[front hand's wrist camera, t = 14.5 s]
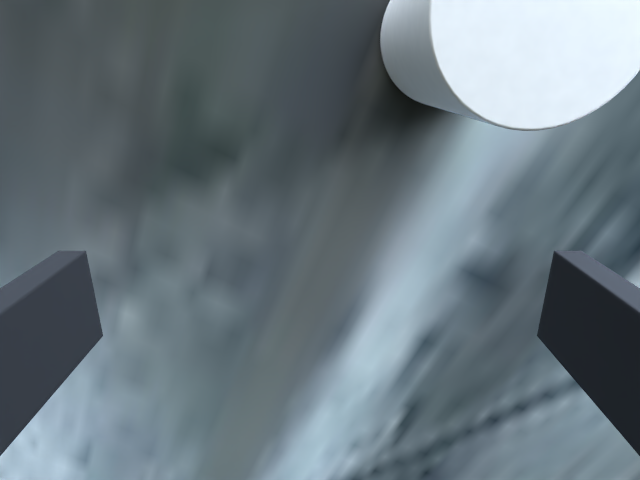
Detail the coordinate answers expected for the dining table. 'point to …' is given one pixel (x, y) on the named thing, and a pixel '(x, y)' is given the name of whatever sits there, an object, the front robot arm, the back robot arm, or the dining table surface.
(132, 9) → the dining table surface
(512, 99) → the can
